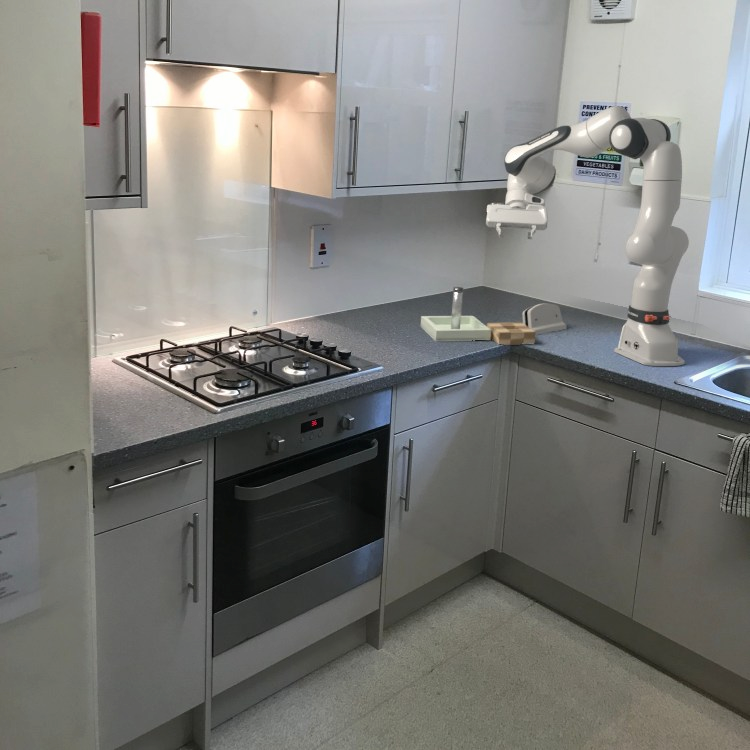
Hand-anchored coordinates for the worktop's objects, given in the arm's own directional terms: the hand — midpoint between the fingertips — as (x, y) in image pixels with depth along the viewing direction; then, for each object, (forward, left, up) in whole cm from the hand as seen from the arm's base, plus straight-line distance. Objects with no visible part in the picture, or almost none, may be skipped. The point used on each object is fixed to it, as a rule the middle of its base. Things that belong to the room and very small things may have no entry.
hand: (515, 237), depth 295 cm
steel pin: (-9, +21, -29) cm, 37 cm away
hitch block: (-17, +5, -30) cm, 35 cm away
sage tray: (-9, +21, -30) cm, 38 cm away
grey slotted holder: (-6, -10, -30) cm, 33 cm away
